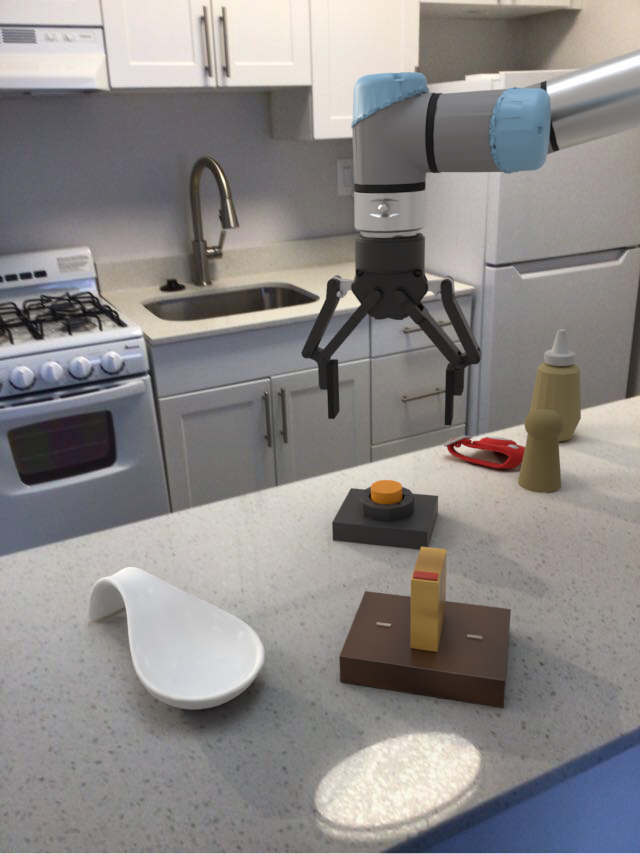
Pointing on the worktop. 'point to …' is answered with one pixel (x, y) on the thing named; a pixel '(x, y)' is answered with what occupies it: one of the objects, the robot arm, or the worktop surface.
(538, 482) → the tan pawn
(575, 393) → the squeeze bottle
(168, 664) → the spoon rest
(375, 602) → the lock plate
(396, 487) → the alarm button
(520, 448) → the red looped piece
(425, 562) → the thumbturn
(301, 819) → the worktop surface
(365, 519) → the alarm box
